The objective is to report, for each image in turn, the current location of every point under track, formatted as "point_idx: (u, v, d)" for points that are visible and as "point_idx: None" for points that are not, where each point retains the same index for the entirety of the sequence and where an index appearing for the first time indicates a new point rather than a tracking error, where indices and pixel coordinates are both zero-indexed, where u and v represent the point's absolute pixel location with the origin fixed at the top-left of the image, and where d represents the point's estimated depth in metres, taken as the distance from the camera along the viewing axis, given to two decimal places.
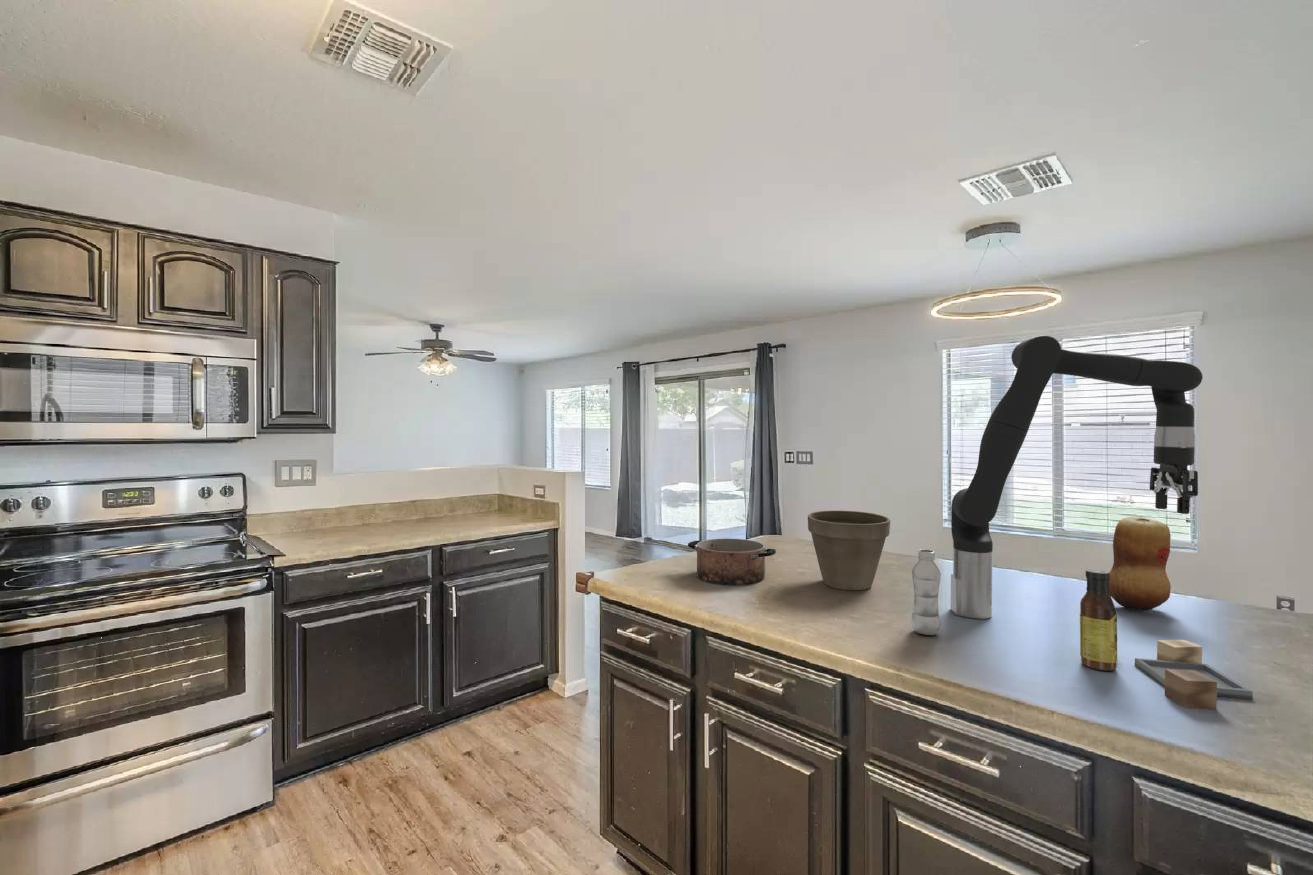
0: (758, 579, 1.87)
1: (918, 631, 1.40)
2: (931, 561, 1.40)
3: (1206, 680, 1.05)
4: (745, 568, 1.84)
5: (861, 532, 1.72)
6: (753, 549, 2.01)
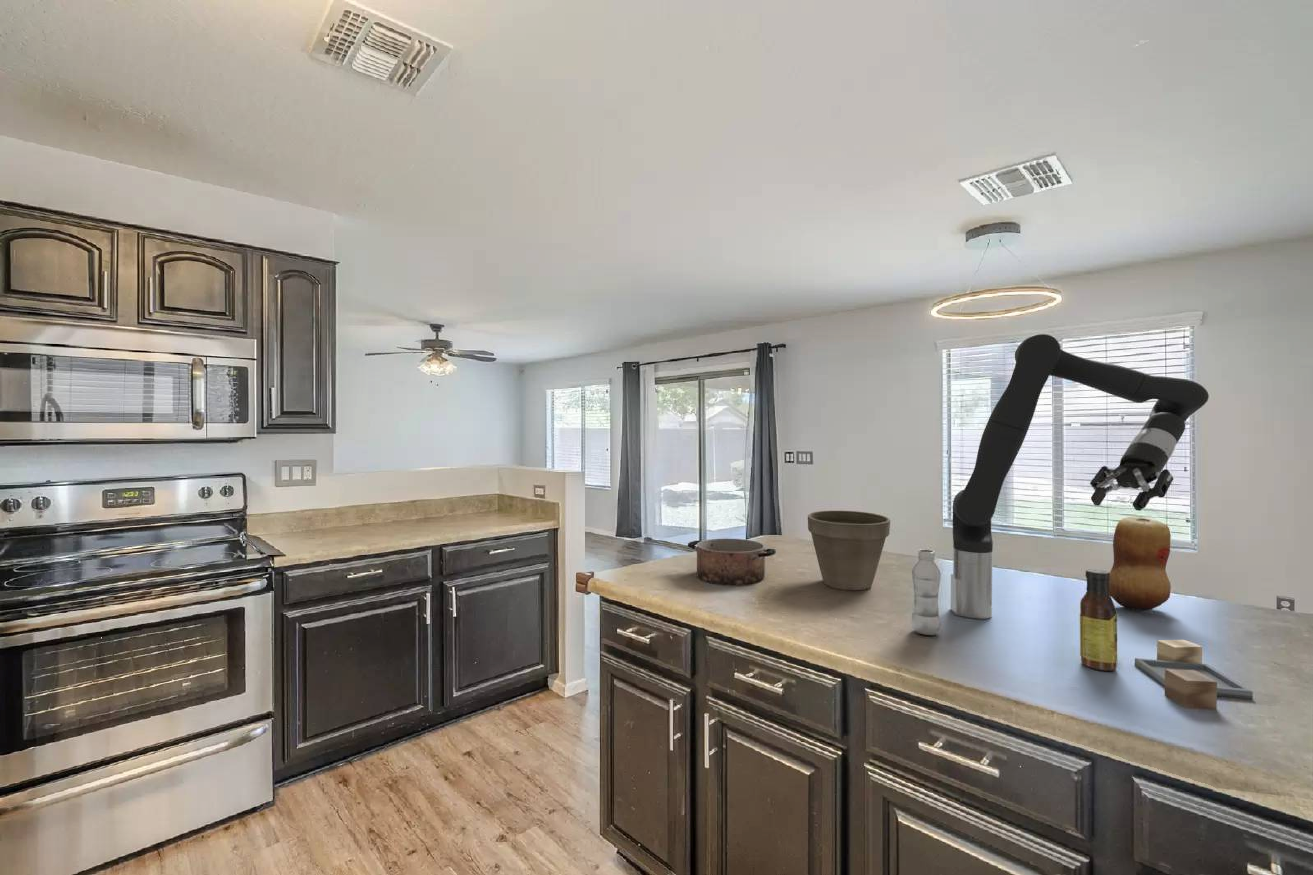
0: (758, 579, 1.87)
1: (918, 631, 1.40)
2: (931, 561, 1.40)
3: (1206, 680, 1.05)
4: (745, 568, 1.84)
5: (861, 532, 1.72)
6: (753, 549, 2.01)
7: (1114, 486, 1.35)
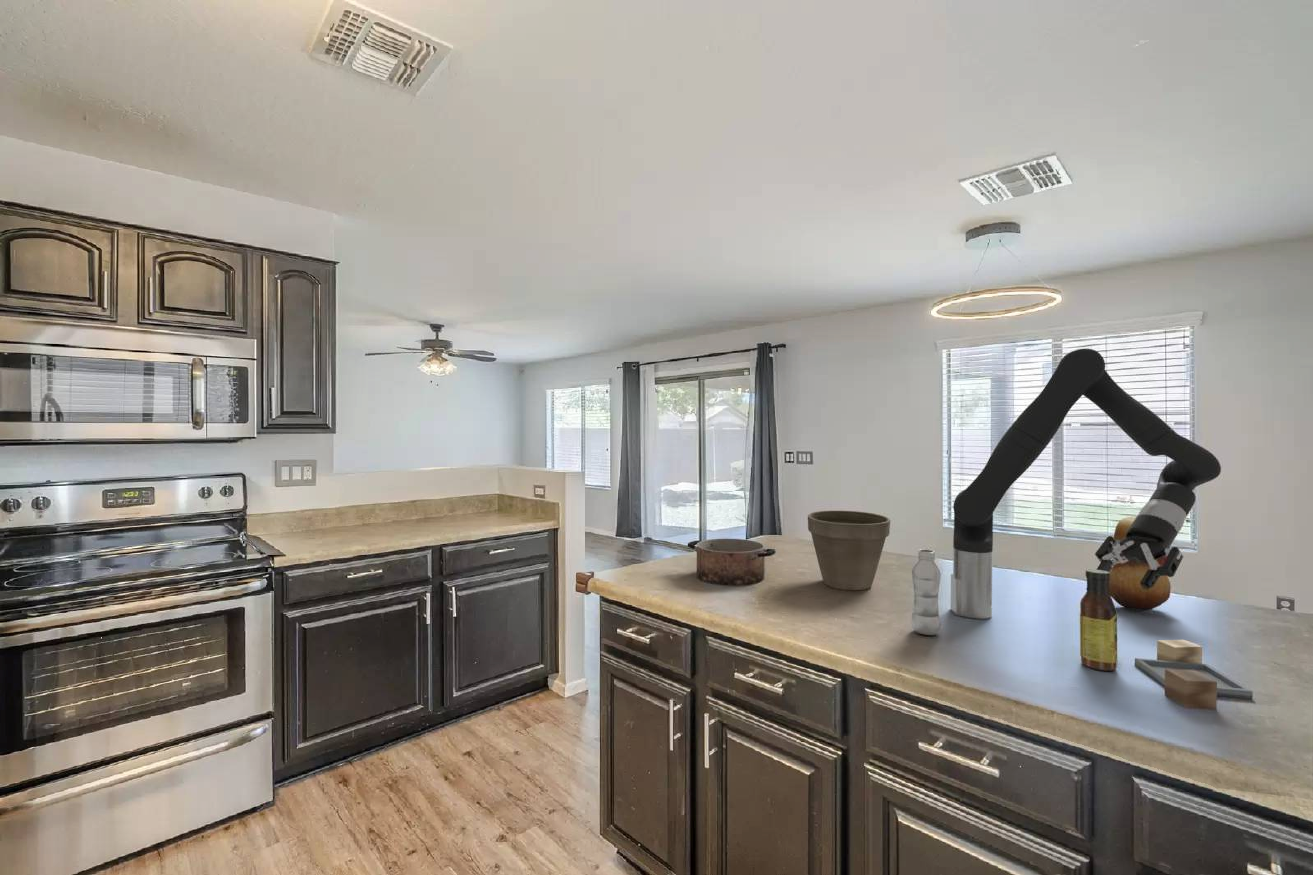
0: (758, 579, 1.87)
1: (918, 631, 1.40)
2: (931, 561, 1.40)
3: (1206, 680, 1.05)
4: (745, 568, 1.84)
5: (861, 532, 1.72)
6: (753, 549, 2.01)
7: (1120, 559, 1.29)
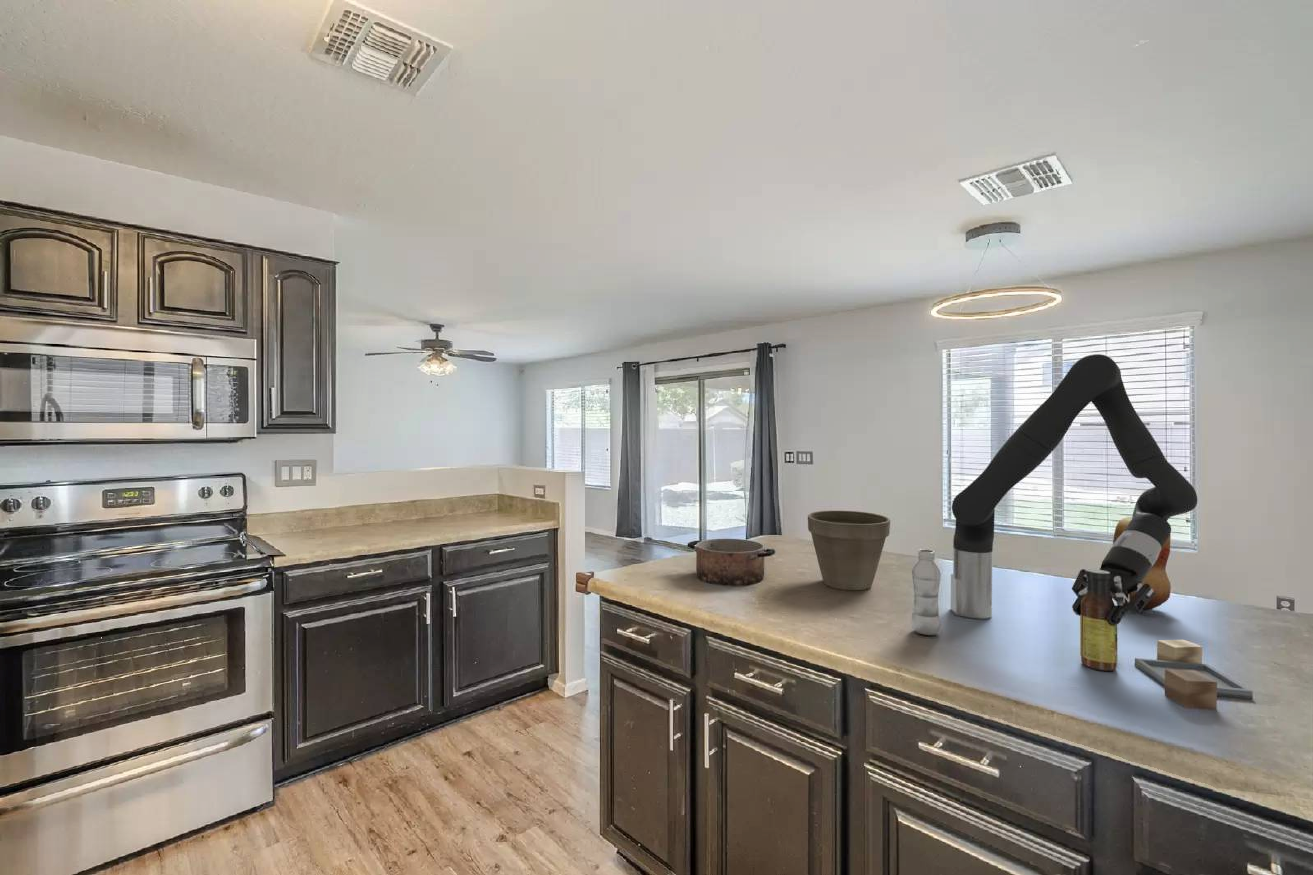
0: (757, 579, 1.87)
1: (918, 631, 1.40)
2: (931, 561, 1.40)
3: (1206, 680, 1.05)
4: (745, 568, 1.84)
5: (861, 532, 1.72)
6: (753, 549, 2.01)
7: None
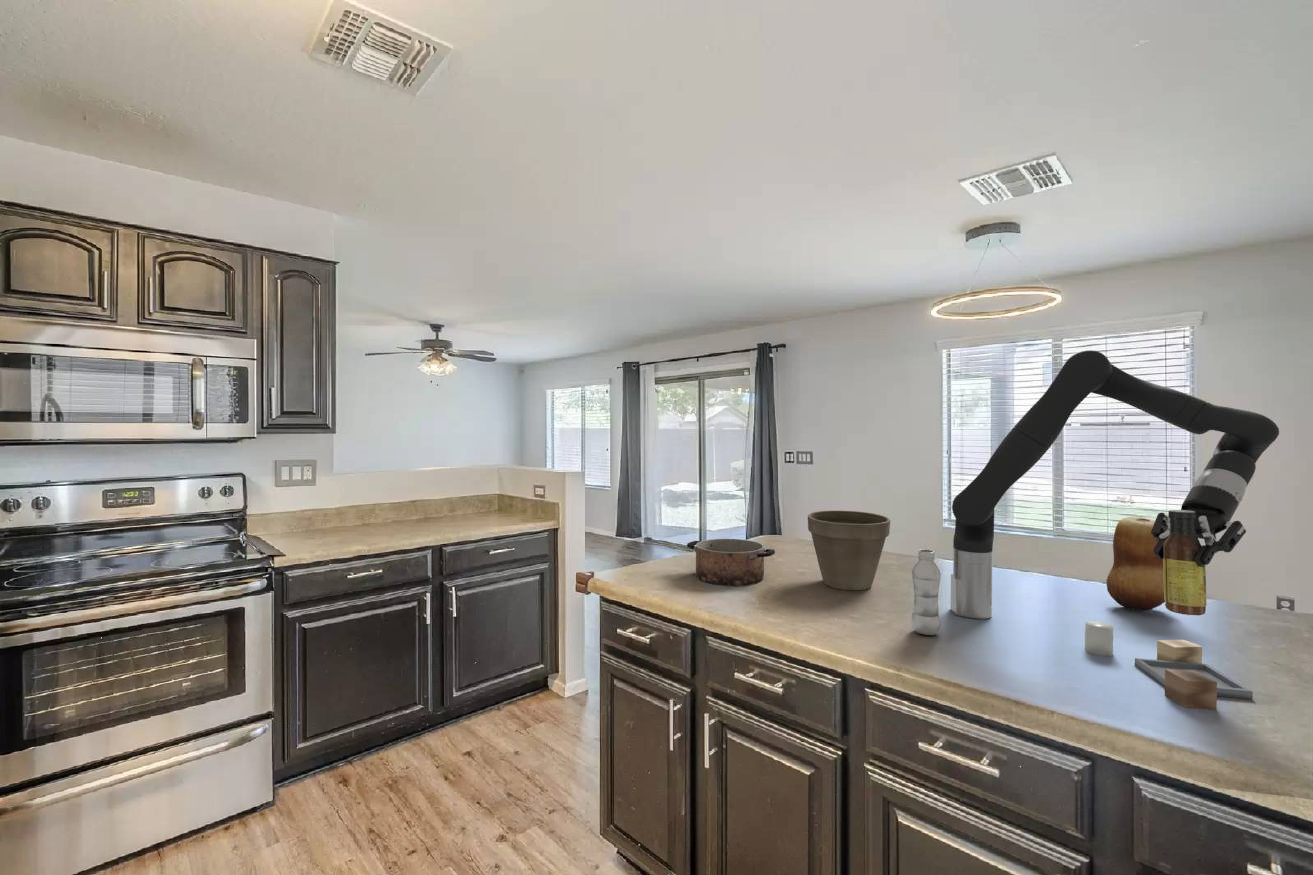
0: (757, 579, 1.87)
1: (918, 631, 1.40)
2: (931, 561, 1.40)
3: (1206, 680, 1.05)
4: (744, 568, 1.84)
5: (861, 532, 1.72)
6: (752, 549, 2.00)
7: None
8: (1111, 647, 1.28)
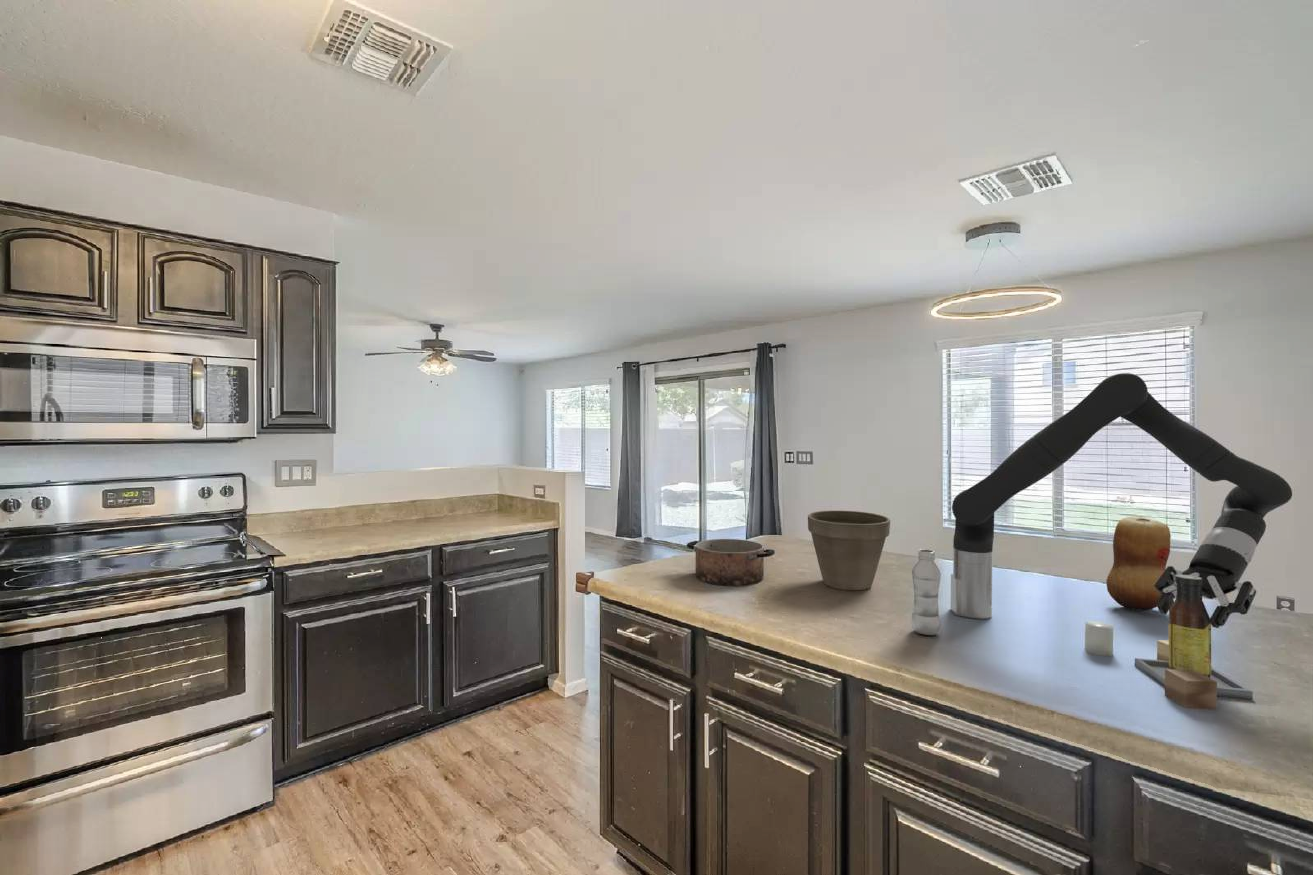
0: (757, 580, 1.86)
1: (918, 631, 1.40)
2: (931, 561, 1.40)
3: (1206, 680, 1.05)
4: (744, 568, 1.83)
5: (861, 532, 1.72)
6: (752, 550, 2.00)
7: None
8: (1111, 647, 1.28)
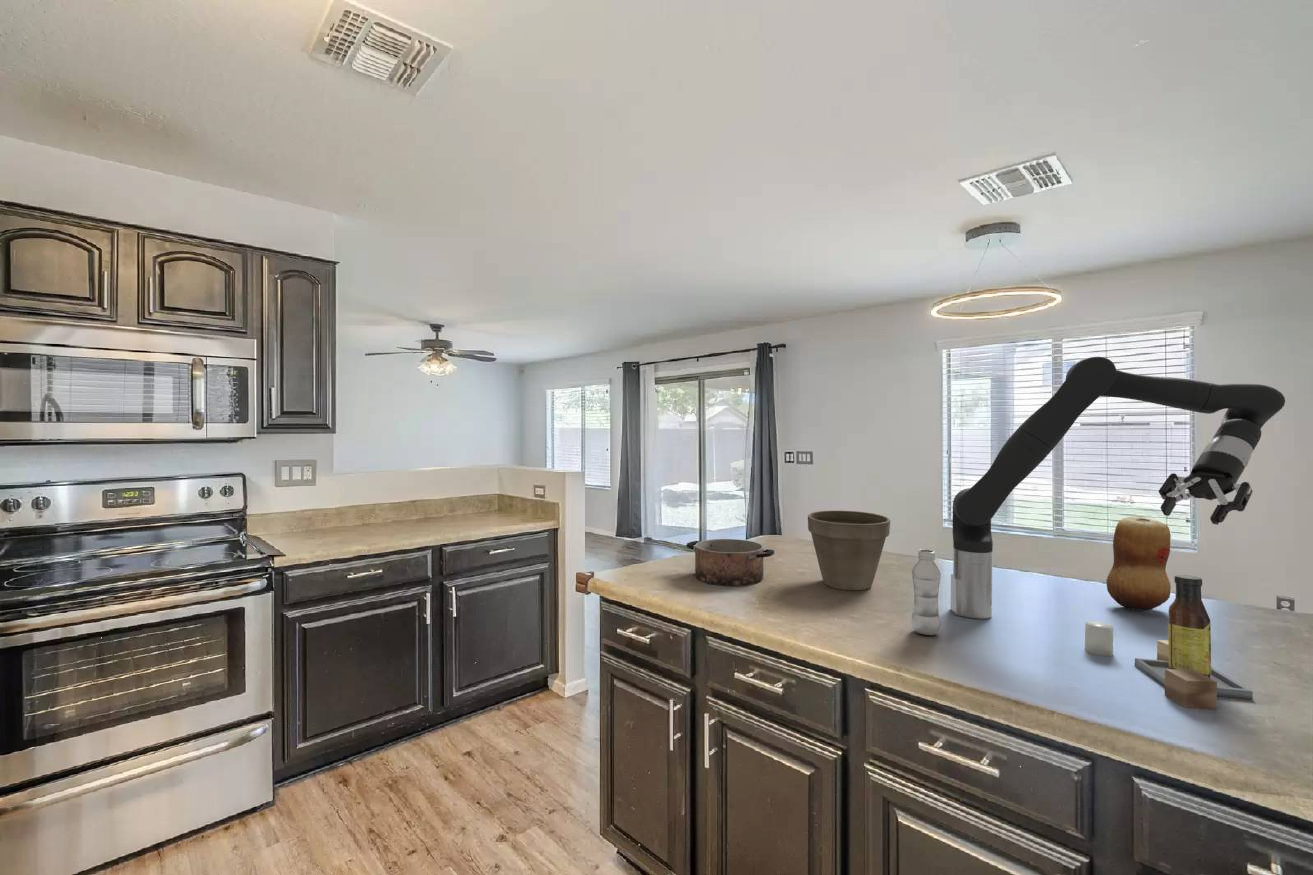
0: (756, 580, 1.86)
1: (918, 631, 1.40)
2: (931, 561, 1.40)
3: (1206, 680, 1.05)
4: (743, 568, 1.83)
5: (861, 532, 1.72)
6: (752, 550, 2.00)
7: (1185, 496, 1.30)
8: (1111, 647, 1.28)
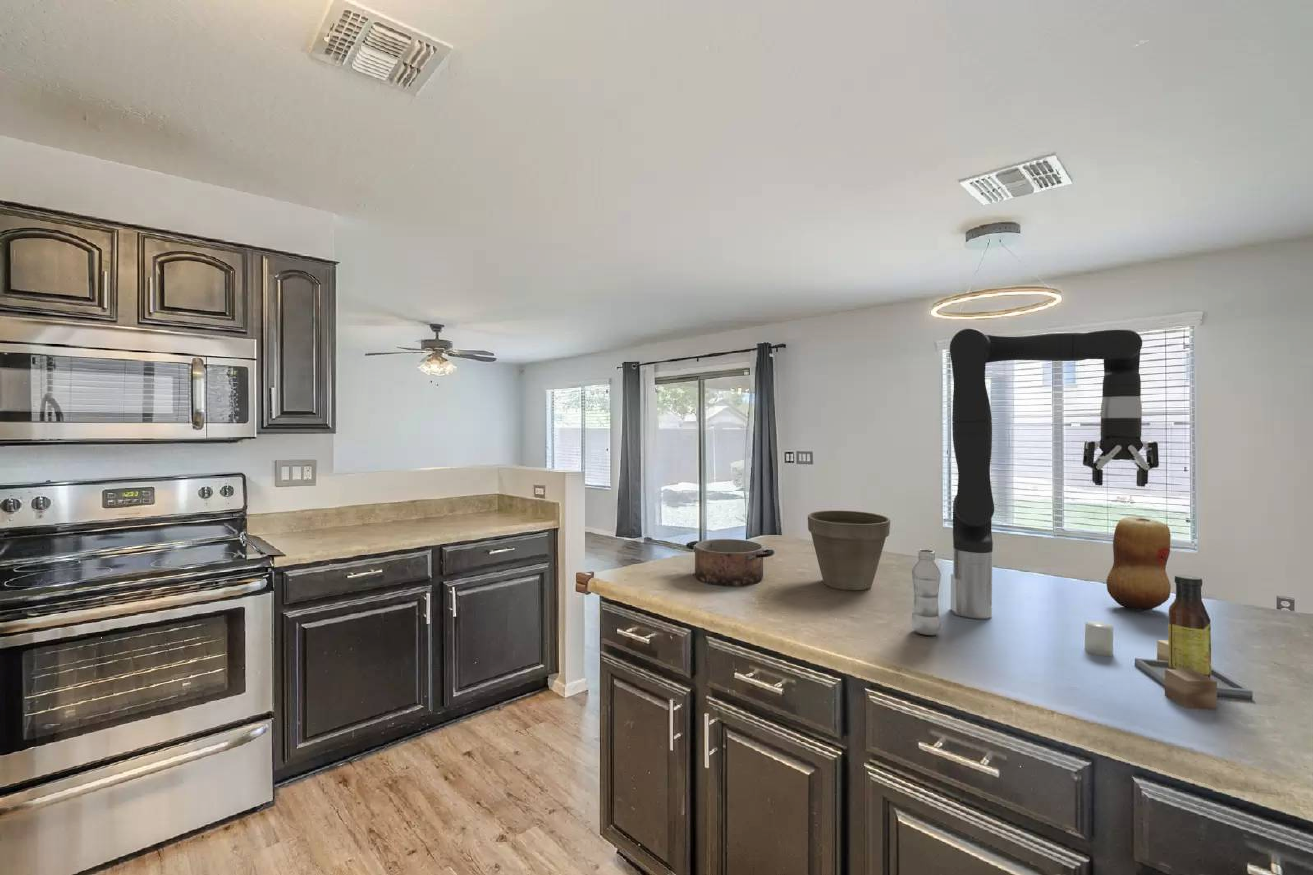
0: (756, 580, 1.86)
1: (918, 631, 1.40)
2: (931, 561, 1.40)
3: (1206, 680, 1.05)
4: (743, 569, 1.83)
5: (861, 532, 1.72)
6: (752, 550, 2.00)
7: None
8: (1111, 647, 1.28)
